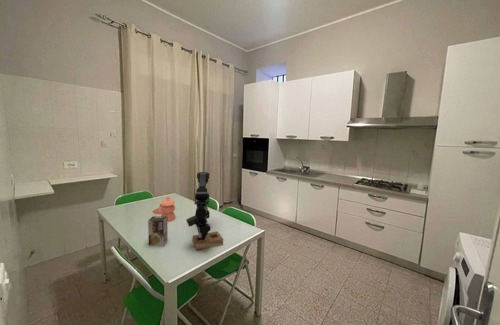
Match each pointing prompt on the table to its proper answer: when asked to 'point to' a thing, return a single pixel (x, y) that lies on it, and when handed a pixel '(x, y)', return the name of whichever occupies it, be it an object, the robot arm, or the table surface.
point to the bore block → (207, 241)
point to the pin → (199, 236)
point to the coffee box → (157, 231)
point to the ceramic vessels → (166, 209)
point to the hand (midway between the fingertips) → (201, 236)
